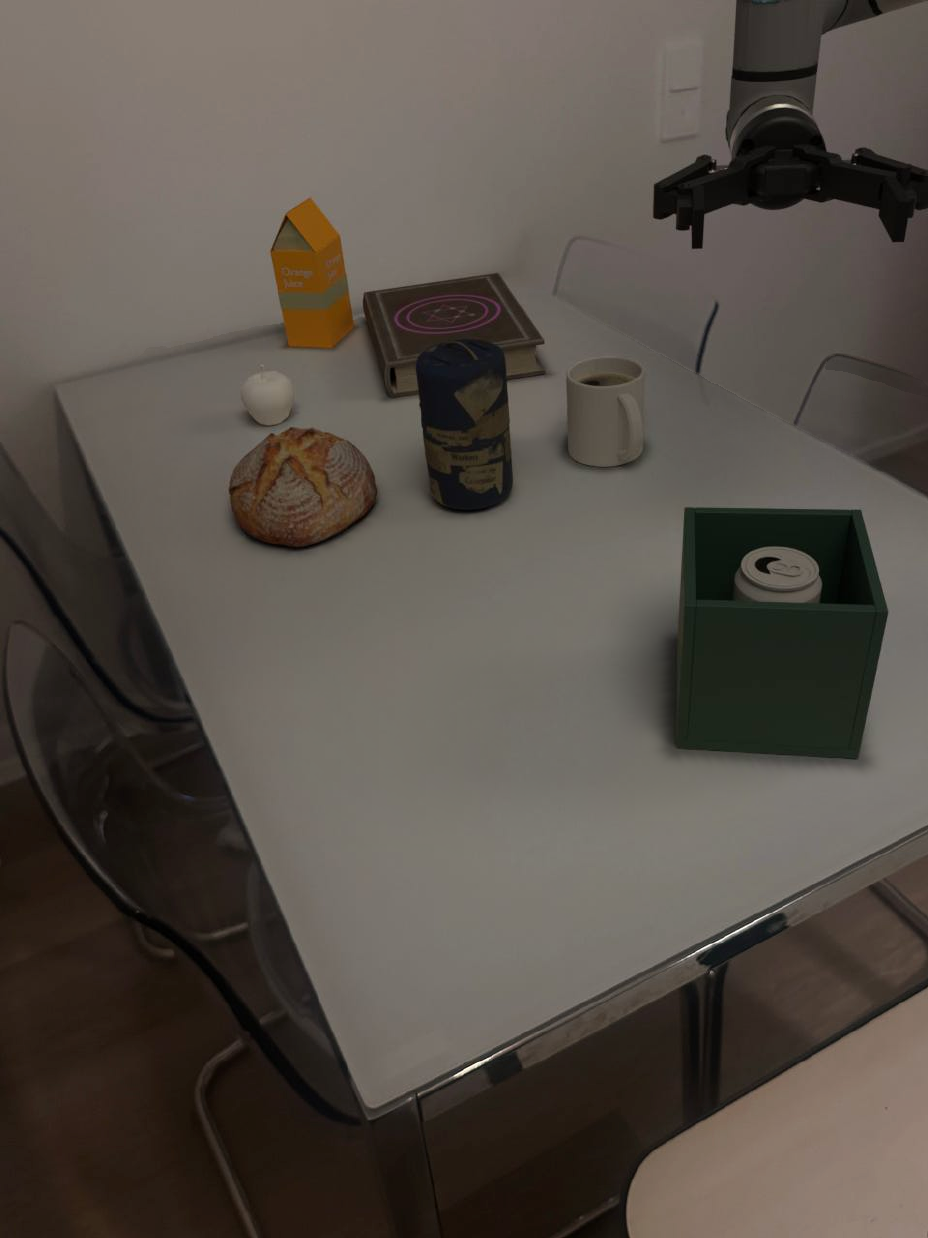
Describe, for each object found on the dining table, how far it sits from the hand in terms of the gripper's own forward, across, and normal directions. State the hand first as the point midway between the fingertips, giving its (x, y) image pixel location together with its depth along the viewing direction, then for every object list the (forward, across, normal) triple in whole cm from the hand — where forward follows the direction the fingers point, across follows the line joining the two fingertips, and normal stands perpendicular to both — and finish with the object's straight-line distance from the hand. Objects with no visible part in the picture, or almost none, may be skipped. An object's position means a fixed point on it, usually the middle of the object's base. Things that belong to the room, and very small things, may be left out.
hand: (798, 225), depth 70 cm
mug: (-33, +15, -35) cm, 50 cm away
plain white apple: (-42, +60, -35) cm, 82 cm away
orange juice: (-72, +62, -35) cm, 101 cm away
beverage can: (+10, 0, -34) cm, 36 cm away
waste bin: (+10, 0, -35) cm, 36 cm away
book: (-67, +41, -35) cm, 86 cm away
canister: (-23, +30, -35) cm, 51 cm away
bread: (-19, +48, -35) cm, 63 cm away
